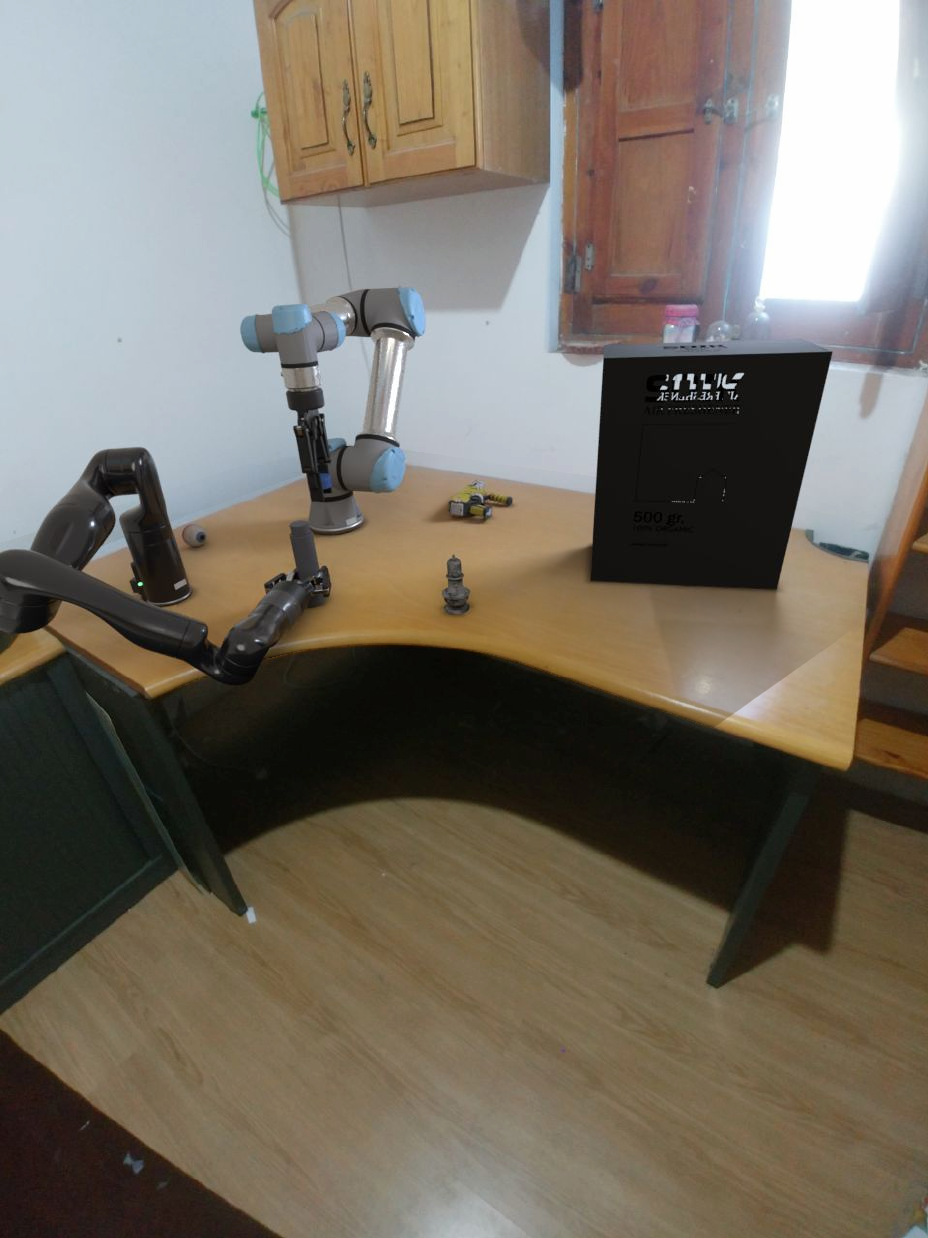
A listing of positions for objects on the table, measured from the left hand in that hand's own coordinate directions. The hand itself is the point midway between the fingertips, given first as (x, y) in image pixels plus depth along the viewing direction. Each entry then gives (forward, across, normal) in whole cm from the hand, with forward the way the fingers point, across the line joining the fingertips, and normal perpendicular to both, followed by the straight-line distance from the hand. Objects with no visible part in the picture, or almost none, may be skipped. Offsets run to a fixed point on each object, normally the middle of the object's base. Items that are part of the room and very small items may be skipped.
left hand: (314, 569), depth 129 cm
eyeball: (+25, -44, -6) cm, 51 cm away
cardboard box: (+19, +78, -6) cm, 81 cm away
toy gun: (+57, +30, -6) cm, 65 cm away
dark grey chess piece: (-4, +31, -6) cm, 32 cm away
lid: (+15, -2, +16) cm, 21 cm away
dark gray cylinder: (-3, 0, -6) cm, 7 cm away
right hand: (+15, -2, +11) cm, 19 cm away
